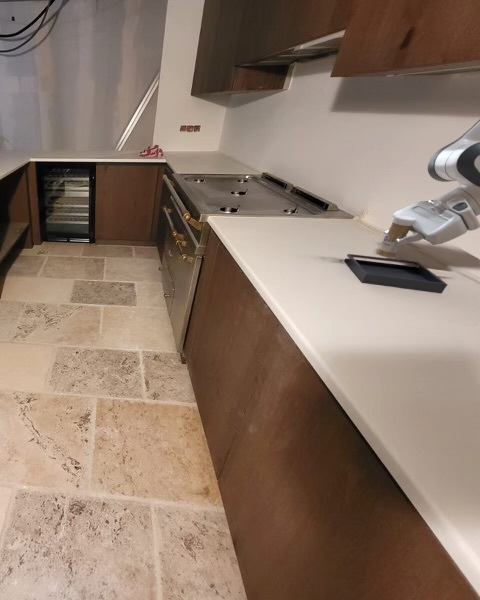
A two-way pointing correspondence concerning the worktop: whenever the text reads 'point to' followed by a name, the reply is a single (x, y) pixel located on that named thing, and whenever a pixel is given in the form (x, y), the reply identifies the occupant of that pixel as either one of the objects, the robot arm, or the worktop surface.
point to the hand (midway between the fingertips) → (391, 238)
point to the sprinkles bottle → (395, 235)
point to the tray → (395, 274)
